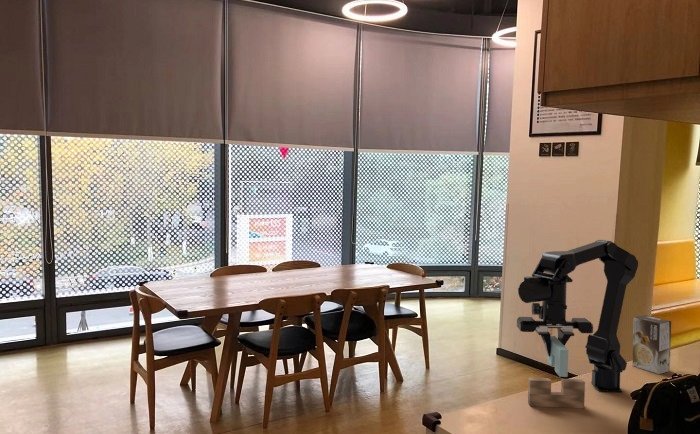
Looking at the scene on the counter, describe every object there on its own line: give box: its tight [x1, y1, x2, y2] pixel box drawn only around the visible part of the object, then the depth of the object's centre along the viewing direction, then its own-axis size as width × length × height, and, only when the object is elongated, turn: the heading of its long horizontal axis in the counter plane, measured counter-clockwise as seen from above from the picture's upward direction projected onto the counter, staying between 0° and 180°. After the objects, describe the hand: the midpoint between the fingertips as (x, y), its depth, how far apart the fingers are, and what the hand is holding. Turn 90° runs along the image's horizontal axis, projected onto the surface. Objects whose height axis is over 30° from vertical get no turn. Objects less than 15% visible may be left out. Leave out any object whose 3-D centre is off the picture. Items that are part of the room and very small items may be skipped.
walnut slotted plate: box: [527, 377, 586, 409], centre depth 143 cm, size 14×2×7 cm, turn 84°
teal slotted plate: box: [546, 335, 569, 378], centre depth 143 cm, size 12×2×7 cm, turn 174°
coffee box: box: [632, 314, 672, 375], centre depth 171 cm, size 9×6×16 cm
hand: (553, 355), depth 146 cm, fingers closed on teal slotted plate, 2 cm apart
